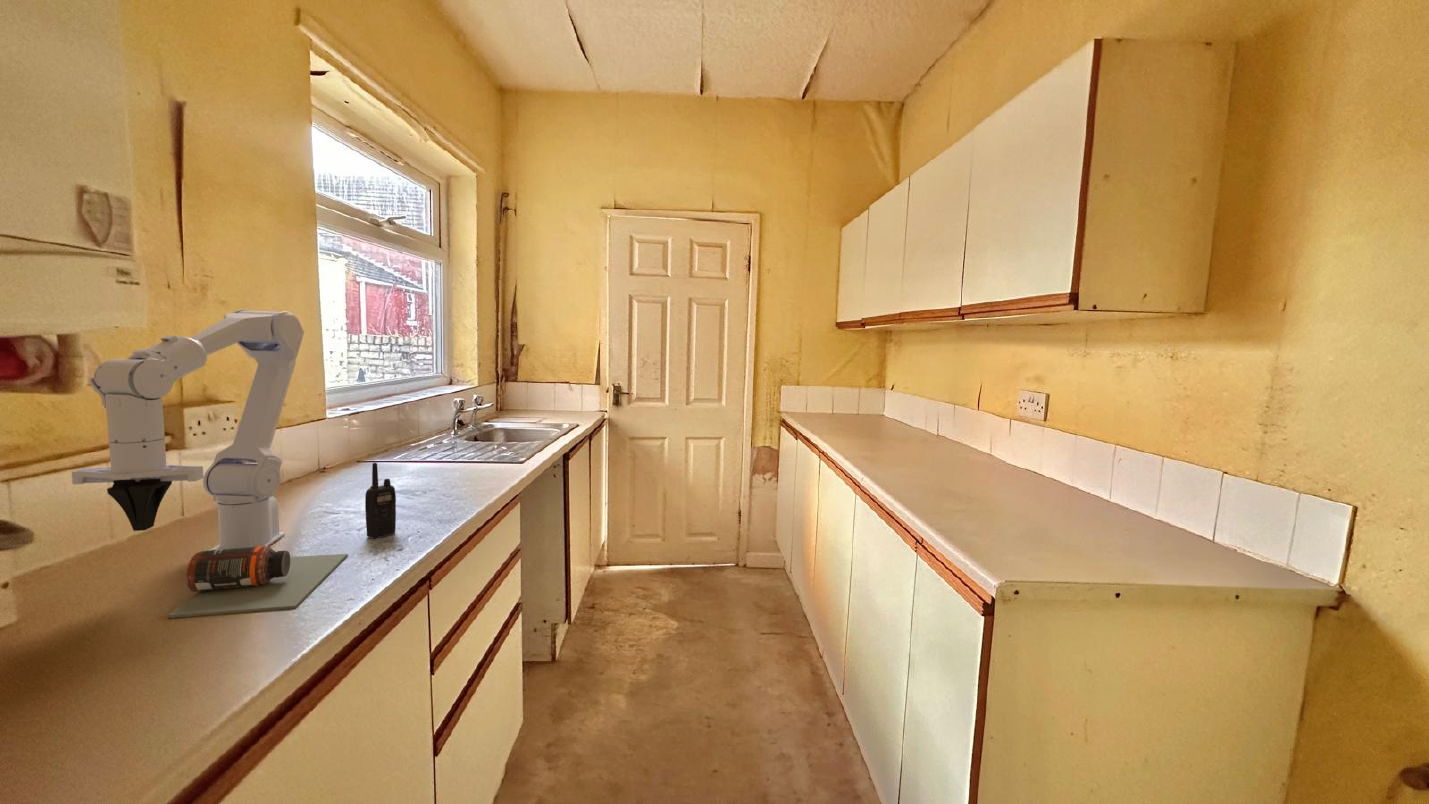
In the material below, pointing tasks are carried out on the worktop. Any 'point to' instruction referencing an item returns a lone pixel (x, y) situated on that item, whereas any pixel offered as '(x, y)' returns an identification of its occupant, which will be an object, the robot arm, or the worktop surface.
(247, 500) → the robot arm
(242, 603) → the mat
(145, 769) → the worktop surface
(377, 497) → the two-way radio
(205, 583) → the supplement bottle
